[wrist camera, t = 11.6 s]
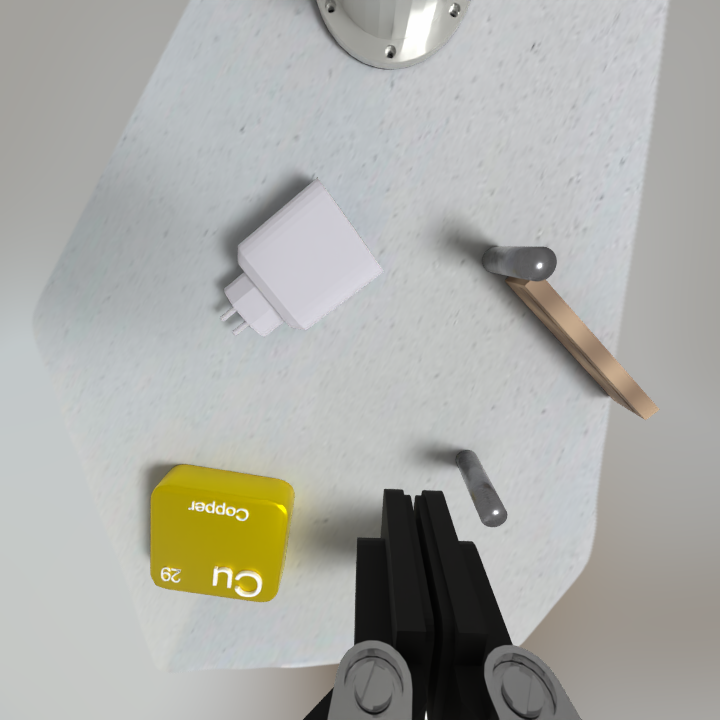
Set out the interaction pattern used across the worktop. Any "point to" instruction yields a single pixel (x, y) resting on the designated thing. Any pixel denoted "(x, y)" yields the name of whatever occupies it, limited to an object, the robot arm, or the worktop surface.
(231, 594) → the element tile
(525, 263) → the hinge post
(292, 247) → the charger
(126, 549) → the worktop surface
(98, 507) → the worktop surface
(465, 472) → the latch post
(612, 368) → the gate
